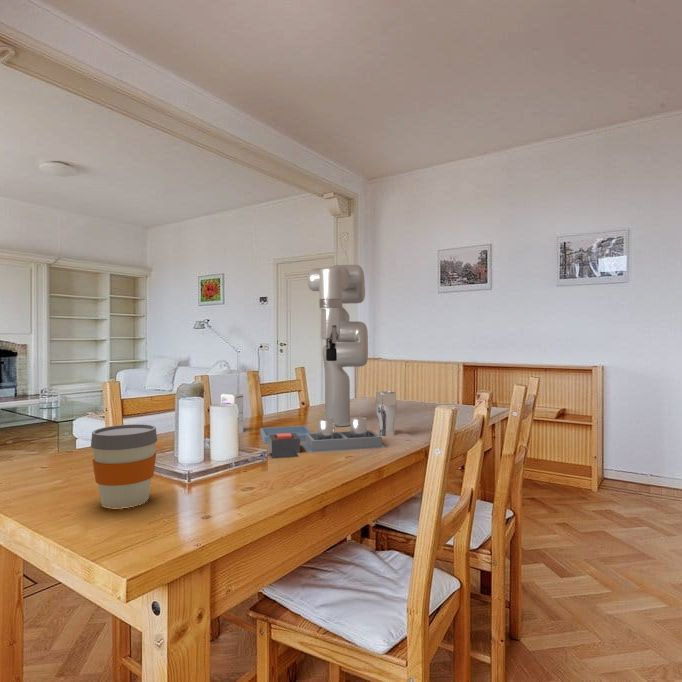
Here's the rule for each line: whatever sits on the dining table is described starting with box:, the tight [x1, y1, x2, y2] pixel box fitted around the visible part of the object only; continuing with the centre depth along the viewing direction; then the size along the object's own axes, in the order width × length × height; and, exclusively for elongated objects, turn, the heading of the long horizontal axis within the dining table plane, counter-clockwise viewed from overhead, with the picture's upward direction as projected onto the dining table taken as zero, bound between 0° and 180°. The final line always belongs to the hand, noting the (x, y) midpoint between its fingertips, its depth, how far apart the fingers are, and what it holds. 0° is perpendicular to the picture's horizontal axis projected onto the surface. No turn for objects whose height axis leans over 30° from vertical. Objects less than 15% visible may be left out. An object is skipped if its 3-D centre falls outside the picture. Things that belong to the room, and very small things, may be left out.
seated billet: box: [349, 416, 368, 438], centre depth 148 cm, size 5×5×8 cm
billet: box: [317, 417, 336, 440], centre depth 145 cm, size 5×5×8 cm
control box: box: [268, 433, 301, 459], centre depth 140 cm, size 8×8×5 cm
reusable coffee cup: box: [90, 423, 158, 508], centre depth 100 cm, size 13×13×15 cm
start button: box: [276, 433, 292, 439], centre depth 140 cm, size 4×4×3 cm
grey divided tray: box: [300, 429, 388, 454], centre depth 147 cm, size 13×24×4 cm, turn 104°
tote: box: [259, 425, 313, 445], centre depth 159 cm, size 16×16×3 cm
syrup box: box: [220, 392, 244, 435], centre depth 166 cm, size 6×6×14 cm
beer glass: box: [375, 390, 397, 437], centre depth 163 cm, size 7×7×15 cm
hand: (331, 360), depth 160 cm, fingers closed
